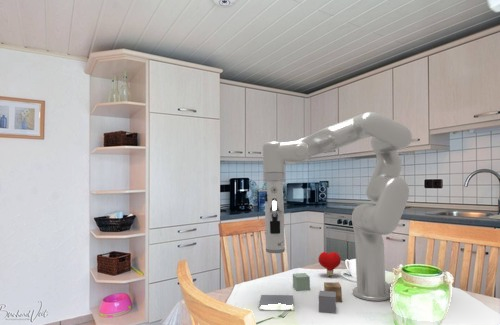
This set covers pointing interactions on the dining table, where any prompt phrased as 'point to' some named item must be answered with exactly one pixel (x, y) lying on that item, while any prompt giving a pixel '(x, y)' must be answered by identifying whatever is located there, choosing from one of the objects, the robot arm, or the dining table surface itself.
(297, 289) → the sage green block
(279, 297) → the coaster mat
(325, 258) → the red heart figurine
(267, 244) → the travel mug
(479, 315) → the dining table surface
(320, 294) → the charcoal block
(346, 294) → the dining table surface
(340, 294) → the walnut block
